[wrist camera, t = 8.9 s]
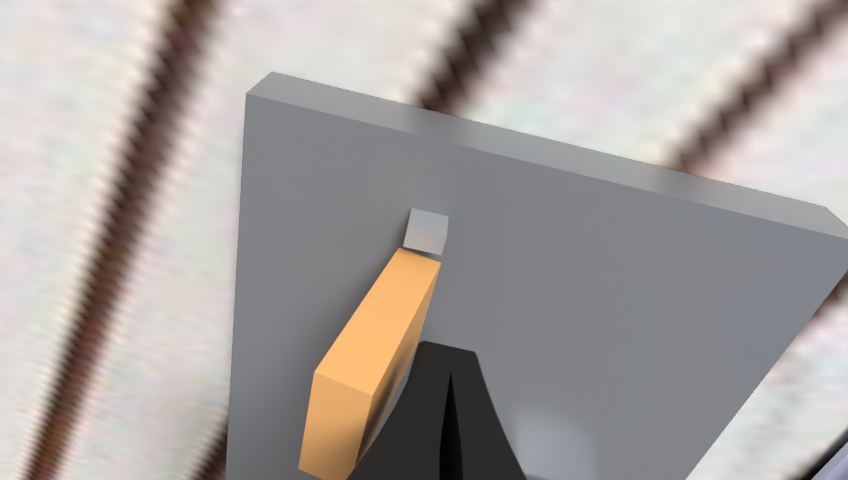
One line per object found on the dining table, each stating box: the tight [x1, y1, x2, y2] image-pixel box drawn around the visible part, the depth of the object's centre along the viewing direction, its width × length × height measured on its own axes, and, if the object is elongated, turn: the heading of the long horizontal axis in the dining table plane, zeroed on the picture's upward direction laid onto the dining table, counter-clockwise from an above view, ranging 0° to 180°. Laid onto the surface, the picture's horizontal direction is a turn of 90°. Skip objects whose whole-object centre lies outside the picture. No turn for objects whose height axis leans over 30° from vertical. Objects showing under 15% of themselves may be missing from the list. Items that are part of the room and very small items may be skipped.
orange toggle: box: [298, 248, 441, 480], centre depth 13 cm, size 1×3×5 cm, turn 167°
